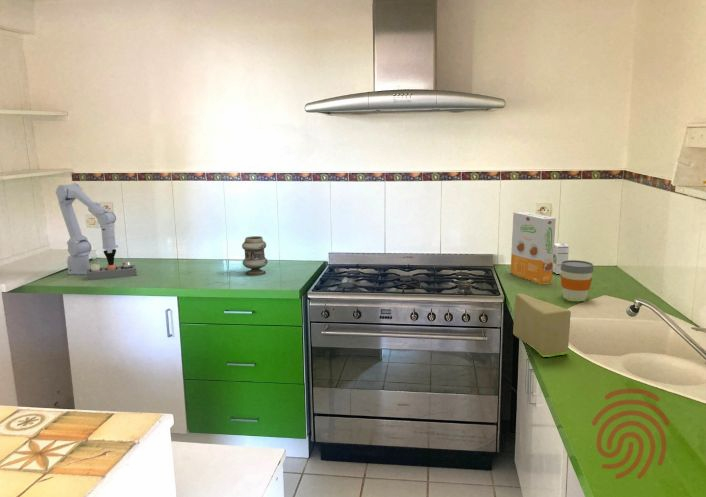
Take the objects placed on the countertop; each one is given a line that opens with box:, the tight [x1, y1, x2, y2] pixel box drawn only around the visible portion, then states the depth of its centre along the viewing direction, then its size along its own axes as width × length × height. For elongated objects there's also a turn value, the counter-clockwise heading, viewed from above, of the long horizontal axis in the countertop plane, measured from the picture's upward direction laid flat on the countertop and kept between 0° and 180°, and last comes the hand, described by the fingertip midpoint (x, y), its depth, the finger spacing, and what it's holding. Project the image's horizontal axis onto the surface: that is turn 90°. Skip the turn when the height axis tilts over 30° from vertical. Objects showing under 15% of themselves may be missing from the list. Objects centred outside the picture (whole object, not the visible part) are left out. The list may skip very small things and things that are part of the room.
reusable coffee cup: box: [560, 259, 594, 300], centre depth 237 cm, size 13×12×15 cm
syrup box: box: [552, 242, 570, 275], centre depth 278 cm, size 6×6×14 cm
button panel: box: [85, 264, 137, 281], centre depth 281 cm, size 9×22×4 cm, turn 113°
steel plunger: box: [121, 260, 132, 269], centre depth 283 cm, size 4×4×4 cm
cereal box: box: [510, 211, 556, 285], centre depth 268 cm, size 22×6×30 cm, turn 20°
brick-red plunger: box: [106, 263, 116, 270], centre depth 281 cm, size 4×4×4 cm
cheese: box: [512, 293, 572, 355], centre depth 186 cm, size 22×10×15 cm, turn 19°
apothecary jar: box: [241, 235, 268, 277], centre depth 283 cm, size 12×12×18 cm
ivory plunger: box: [90, 263, 101, 272], centre depth 278 cm, size 4×4×4 cm
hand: (111, 264), depth 280 cm, fingers closed, pressing on brick-red plunger
